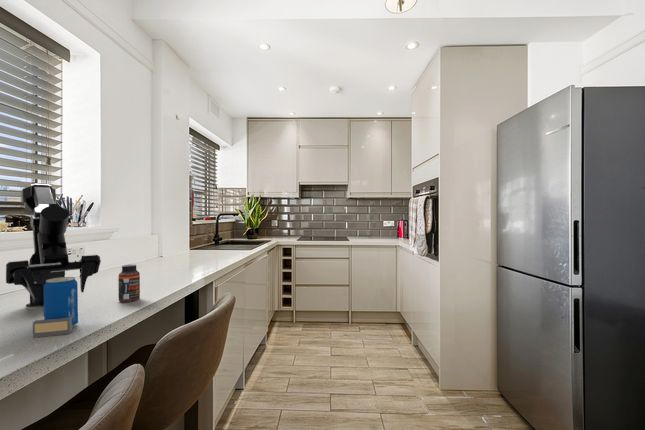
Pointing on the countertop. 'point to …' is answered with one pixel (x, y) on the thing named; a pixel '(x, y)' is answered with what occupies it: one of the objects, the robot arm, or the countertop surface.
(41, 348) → the countertop surface
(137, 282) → the supplement bottle
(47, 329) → the rail
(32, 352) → the countertop surface
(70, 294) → the beverage can
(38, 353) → the countertop surface
